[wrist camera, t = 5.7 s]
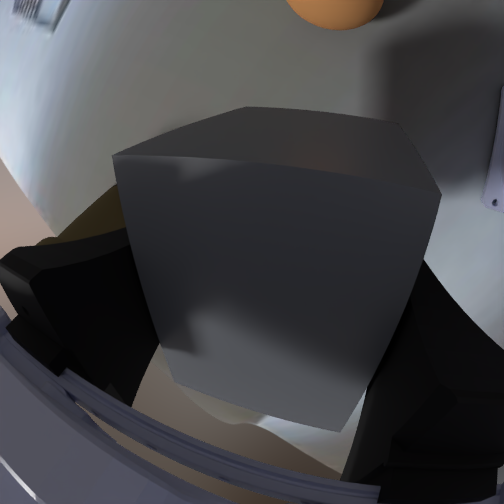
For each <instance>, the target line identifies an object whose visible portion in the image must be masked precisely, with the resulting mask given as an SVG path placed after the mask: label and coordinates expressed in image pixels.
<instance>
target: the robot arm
mask: <svg viewBox="0 0 504 504" xmlns="http://www.w3.org/2000/svg"><path fill="white" fill-rule="evenodd" d="M494 199H497V201H496V203H495V204H492V201H493V200H494ZM481 201H482V203H483V205H484V206H485V207H487V208H490V209H493V210H496V211H499V212H503V213H504V86H503V87H502V89H501V99H500V108H499V116H498V123H497V129H496V135H495V141H494V146H493V151H492V156H491V161H490V165H489V170H488V174H487V178H486V182H485V186H484V190H483V193H482V197H481ZM0 283H1V285H2V287H3V289H4V291H5V293H6V295H7V296H8V298H9V300H10V302H11V303H12V305H13V307H14V308H15V310H16V312H17V313H18V315H17V316H16V317H15V318H14V319H13V321H11V320H10V318H9V317H8V315H7V313H6V312H5V311H4V310H3V308H2V307H1V306H0V504H238V503H236V502H233V501H230V500H227V499H225V498H223V497H220V496H218V495H215V494H213V493H211V492H208V491H206V490H204V489H202V488H199V487H197V486H195V485H193V484H190V483H189V482H186V481H184V480H182V479H180V478H178V477H176V476H174V475H172V474H170V473H168V472H166V471H165V470H162V469H161V468H159V467H157V466H155V465H153V464H151V463H150V462H148V461H146V460H144V459H143V458H141V457H139V456H137V455H136V454H134V453H132V452H131V451H129V450H127V449H125V448H124V447H123V446H121V445H119V444H118V443H116V441H115V440H114V439H113V438H111V436H109V435H108V434H107V433H106V432H104V431H103V430H102V429H101V428H100V427H99V426H98V425H97V424H96V423H95V422H94V421H93V420H92V419H91V417H90V416H89V415H88V414H87V413H86V412H85V411H84V410H83V409H81V408H80V407H79V406H78V405H77V404H76V403H78V404H79V405H80V406H82V407H83V408H85V409H86V410H88V411H89V412H90V413H92V414H93V415H95V416H96V417H98V418H99V419H101V420H102V421H104V422H106V423H107V424H109V425H110V426H112V427H113V428H115V429H117V430H118V431H120V432H122V433H123V434H125V435H127V436H129V437H130V438H132V439H134V440H135V441H137V442H139V443H141V444H143V445H145V446H146V447H148V448H150V449H152V450H154V451H156V452H158V453H160V454H162V455H164V456H166V457H168V458H170V459H172V460H174V461H176V462H178V463H180V464H183V465H185V466H187V467H189V468H192V469H194V470H196V471H199V472H201V473H203V474H206V475H208V476H211V477H213V478H216V479H219V480H221V481H224V482H227V483H229V484H232V485H235V486H238V487H241V488H244V489H247V490H250V491H253V492H257V493H260V494H263V495H267V496H270V497H274V498H278V499H282V500H285V501H290V502H294V503H298V504H504V483H503V484H497V470H498V468H500V467H501V466H503V464H504V350H503V349H502V348H501V347H500V346H499V345H498V344H496V343H495V342H494V341H493V340H492V339H491V338H490V337H489V336H488V335H487V334H486V333H485V332H484V331H483V330H482V329H481V328H480V327H479V326H478V325H477V324H476V323H475V322H474V321H473V320H472V319H471V318H470V317H469V316H468V315H467V314H466V313H465V312H464V311H463V309H462V308H461V307H460V306H459V305H458V304H457V303H456V301H455V300H454V299H453V298H452V297H451V296H450V294H449V293H448V292H447V291H446V289H445V288H444V287H443V285H442V284H441V283H440V281H439V280H438V279H437V277H436V276H435V275H434V273H433V272H432V271H431V269H430V268H429V266H428V265H427V263H426V262H425V261H424V259H423V261H422V264H421V267H420V270H419V272H418V275H417V278H416V281H415V283H414V286H413V289H412V291H411V294H410V296H409V299H408V301H407V304H406V306H405V309H404V311H403V314H402V316H401V318H400V321H399V323H398V325H397V327H396V330H395V332H394V334H393V336H392V338H391V341H390V343H389V345H388V347H387V349H386V351H385V353H384V355H383V357H382V359H381V361H380V363H379V365H378V367H377V369H376V371H375V373H374V375H373V377H372V379H371V381H370V382H369V384H368V386H367V390H366V395H365V399H364V404H363V408H362V412H361V416H360V420H359V423H358V427H357V431H356V434H355V437H354V441H353V444H352V447H351V450H350V453H349V456H348V459H347V462H346V465H345V468H344V470H343V473H342V476H341V478H340V481H339V480H333V479H327V478H322V477H318V476H313V475H308V474H304V473H300V472H295V471H291V470H287V469H284V468H280V467H276V466H273V465H269V464H266V463H262V462H259V461H256V460H253V459H249V458H246V457H243V456H240V455H237V454H234V453H232V452H229V451H226V450H223V449H221V448H218V447H215V446H213V445H210V444H208V443H205V442H203V441H200V440H198V439H195V438H193V437H191V436H188V435H186V434H184V433H181V432H179V431H177V430H175V429H173V428H170V427H168V426H166V425H164V424H162V423H160V422H158V421H156V420H154V419H152V418H150V417H148V416H146V415H144V414H142V413H140V412H138V411H137V410H135V409H133V408H131V407H132V404H133V401H134V398H135V396H136V393H137V390H138V388H139V386H140V383H141V381H142V378H143V376H144V374H145V372H146V369H147V367H148V365H149V363H150V361H151V359H152V357H153V355H154V353H155V351H156V349H157V347H158V345H159V343H160V341H159V339H158V336H157V333H156V330H155V327H154V324H153V321H152V318H151V315H150V312H149V308H148V305H147V302H146V299H145V296H144V292H143V289H142V285H141V282H140V279H139V275H138V271H137V268H136V264H135V260H134V257H133V253H132V249H131V245H130V241H129V237H128V233H127V229H126V227H124V228H121V229H118V230H115V231H111V232H108V233H104V234H101V235H97V236H92V237H88V238H83V239H79V240H74V241H69V242H63V243H56V244H48V245H38V246H25V247H17V248H15V249H13V250H11V251H10V252H9V253H7V254H6V255H5V256H4V257H3V258H2V259H0ZM75 402H76V403H75ZM287 504H291V503H287Z"/></svg>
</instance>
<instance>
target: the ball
mask: <svg viewBox="0 0 504 504" xmlns="http://www.w3.org/2000/svg"><path fill="white" fill-rule="evenodd" d="M383 1H384V0H287V2H288V3H289V5H290V6H291V8H292V9H293V10H294V11H295V12H296V13H297V14H298V15H299V16H300V17H302V18H303V19H305V20H306V21H308V22H310V23H312V24H314V25H316V26H319V27H322V28H326V29H331V30H349V29H354V28H357V27H360V26H362V25H364V24H366V23H368V22H369V21H371V20H372V19H373V18H374V17H375V16H376V15H377V14H378V12H379V11H380V9H381V7H382V4H383Z"/></svg>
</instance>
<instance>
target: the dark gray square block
mask: <svg viewBox="0 0 504 504" xmlns="http://www.w3.org/2000/svg"><path fill="white" fill-rule="evenodd" d="M112 159H113V165H114V170H115V176H116V181H117V187H118V192H119V197H120V202H121V206H122V211H123V216H124V220H125V224H126V229H127V233H128V237H129V241H130V245H131V249H132V253H133V257H134V260H135V264H136V268H137V271H138V275H139V279H140V282H141V285H142V289H143V292H144V296H145V299H146V302H147V305H148V308H149V312H150V315H151V318H152V321H153V324H154V327H155V330H156V333H157V336H158V339H159V341H160V344H161V347H162V350H163V353H164V355H165V358H166V361H167V363H168V366H169V369H170V371H171V374H172V376H173V379H174V381H175V382H176V383H179V384H181V385H183V386H186V387H188V388H191V389H193V390H196V391H199V392H201V393H204V394H206V395H209V396H212V397H215V398H217V399H220V400H223V401H226V402H229V403H232V404H235V405H238V406H241V407H244V408H247V409H250V410H253V411H256V412H260V413H263V414H266V415H270V416H273V417H277V418H280V419H284V420H288V421H292V422H296V423H300V424H304V425H308V426H312V427H316V428H321V429H326V430H330V431H335V432H341V430H342V429H343V427H344V425H345V424H346V422H347V421H348V419H349V417H350V416H351V414H352V412H353V411H354V409H355V407H356V406H357V404H358V402H359V400H360V399H361V397H362V395H363V393H364V392H365V390H366V388H367V386H368V384H369V382H370V381H371V379H372V377H373V375H374V373H375V371H376V369H377V367H378V365H379V363H380V361H381V359H382V357H383V355H384V353H385V351H386V349H387V347H388V345H389V343H390V341H391V338H392V336H393V334H394V332H395V330H396V327H397V325H398V323H399V321H400V318H401V316H402V314H403V311H404V309H405V306H406V304H407V301H408V299H409V296H410V294H411V291H412V289H413V286H414V283H415V281H416V278H417V275H418V272H419V270H420V267H421V264H422V261H423V258H424V255H425V252H426V249H427V246H428V243H429V239H430V236H431V233H432V229H433V226H434V222H435V219H436V215H437V212H438V208H439V204H440V200H441V196H442V194H441V192H440V190H439V188H438V186H437V184H436V183H435V181H434V179H433V177H432V176H431V174H430V172H429V171H428V169H427V167H426V165H425V164H424V162H423V161H422V159H421V157H420V156H419V154H418V153H417V151H416V149H415V148H414V146H413V145H412V143H411V142H410V140H409V139H408V137H407V136H406V134H405V133H404V131H403V130H402V128H401V127H400V126H399V124H398V123H393V122H387V121H382V120H377V119H371V118H365V117H358V116H352V115H345V114H337V113H329V112H320V111H310V110H299V109H286V108H269V107H243V108H239V109H236V110H233V111H229V112H226V113H223V114H219V115H216V116H213V117H210V118H207V119H204V120H201V121H198V122H195V123H192V124H189V125H186V126H183V127H180V128H178V129H175V130H172V131H170V132H167V133H164V134H162V135H159V136H157V137H154V138H152V139H149V140H147V141H144V142H142V143H139V144H137V145H135V146H132V147H130V148H128V149H125V150H123V151H121V152H118V153H116V154H114V155H112Z"/></svg>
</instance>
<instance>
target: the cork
mask: <svg viewBox="0 0 504 504" xmlns="http://www.w3.org/2000/svg"><path fill="white" fill-rule="evenodd" d="M124 227H126V224H125V220H124V216H123V211H122V206H121V202H120V197H119V192H118V187H117V185H116V186H113V187H112V188H110V189H109V190H108V191H107V192H105V193H104V194H103V195H102V196H101V197H100V198H98V199H97V200H96V201H95V202H94V203H93V204H92V205H91V206H89V207H88V208H87V209H86V210H85V211H84V212H83V213H82V214H81V215H80V216H78V217H77V218H76V219H75V220H74V221H73V222H72V223H71V224H70V225H69V226H68V227H67V228H66V229H65V230H64V231H63V232H62V233H61V234H60V235H59V236H58V237H48V238H45V239H43V240H41V241H40V242H39V243H37V244H36V245H35V246H38V245H48V244H56V243H63V242H69V241H74V240H79V239H83V238H88V237H92V236H97V235H101V234H104V233H108V232H111V231H115V230H118V229H121V228H124Z"/></svg>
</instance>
